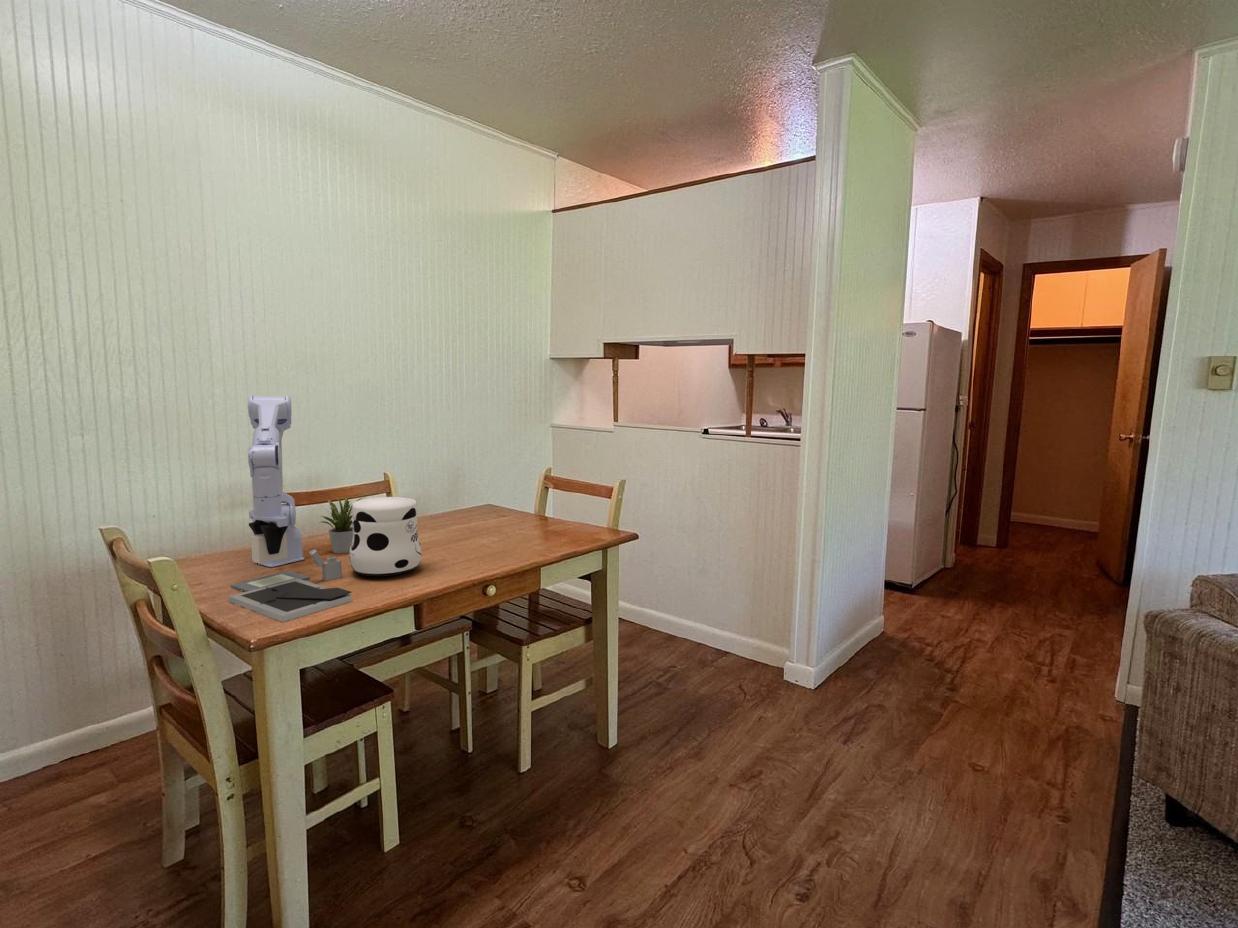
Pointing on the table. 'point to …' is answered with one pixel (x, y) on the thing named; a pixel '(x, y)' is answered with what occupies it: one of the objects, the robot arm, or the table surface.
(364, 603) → the table surface
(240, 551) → the table surface
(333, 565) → the lighter
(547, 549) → the table surface
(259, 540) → the beige rectangular block
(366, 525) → the milk container
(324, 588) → the picture frame
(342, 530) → the house plant
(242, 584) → the mat
